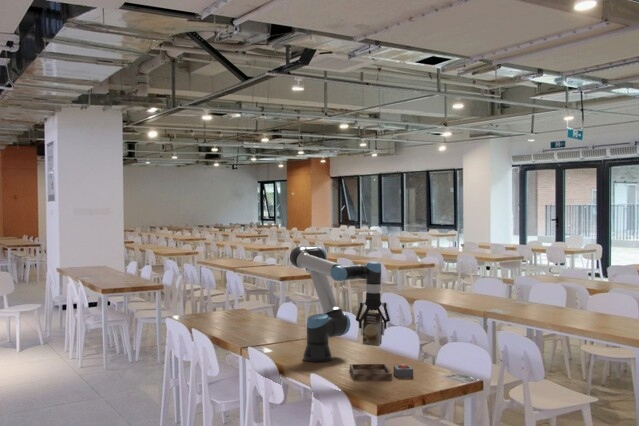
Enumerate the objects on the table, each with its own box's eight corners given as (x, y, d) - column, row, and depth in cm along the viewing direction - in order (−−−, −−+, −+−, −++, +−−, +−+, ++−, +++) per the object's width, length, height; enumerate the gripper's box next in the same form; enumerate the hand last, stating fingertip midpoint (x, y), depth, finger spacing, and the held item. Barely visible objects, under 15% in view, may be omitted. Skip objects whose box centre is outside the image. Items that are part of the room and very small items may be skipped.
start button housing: (396, 377, 281) (396, 369, 281) (393, 373, 289) (393, 365, 289) (413, 377, 282) (413, 369, 282) (409, 373, 290) (409, 364, 290)
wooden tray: (353, 380, 276) (353, 373, 276) (349, 370, 294) (349, 364, 294) (391, 379, 277) (391, 373, 277) (385, 370, 295) (385, 364, 295)
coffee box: (361, 344, 304) (362, 313, 304) (365, 342, 310) (365, 311, 310) (379, 346, 301) (380, 315, 301) (382, 343, 307) (382, 313, 307)
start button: (400, 372, 283) (400, 366, 283) (398, 370, 287) (398, 363, 287) (408, 372, 284) (408, 365, 284) (406, 370, 288) (406, 363, 288)
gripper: (352, 292, 301) (351, 336, 301) (396, 293, 302) (395, 336, 302) (350, 290, 308) (349, 333, 308) (393, 291, 309) (392, 333, 310)
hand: (372, 334), depth 305 cm, fingers closed on coffee box, 10 cm apart
